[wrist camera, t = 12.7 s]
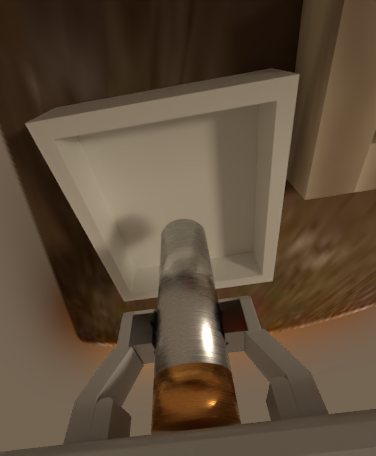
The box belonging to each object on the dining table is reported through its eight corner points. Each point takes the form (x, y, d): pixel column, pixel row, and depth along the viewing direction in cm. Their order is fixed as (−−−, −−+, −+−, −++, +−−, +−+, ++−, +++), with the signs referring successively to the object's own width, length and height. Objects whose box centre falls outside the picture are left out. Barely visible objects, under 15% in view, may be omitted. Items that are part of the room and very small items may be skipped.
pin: (203, 215, 15) (241, 412, 7) (207, 249, 16) (241, 435, 9) (156, 222, 15) (140, 424, 7) (166, 255, 16) (162, 443, 9)
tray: (271, 68, 14) (299, 73, 11) (259, 250, 24) (272, 280, 21) (55, 107, 15) (24, 123, 12) (130, 269, 25) (124, 301, 22)
